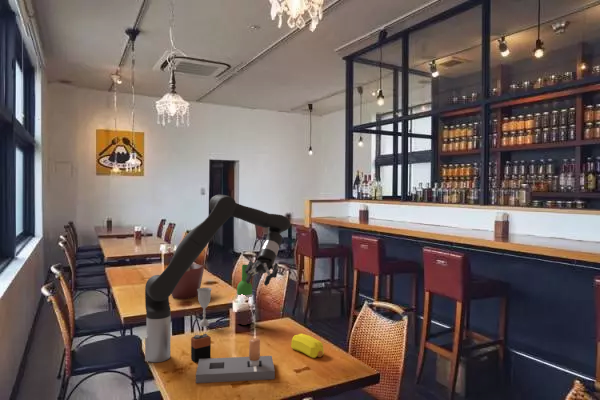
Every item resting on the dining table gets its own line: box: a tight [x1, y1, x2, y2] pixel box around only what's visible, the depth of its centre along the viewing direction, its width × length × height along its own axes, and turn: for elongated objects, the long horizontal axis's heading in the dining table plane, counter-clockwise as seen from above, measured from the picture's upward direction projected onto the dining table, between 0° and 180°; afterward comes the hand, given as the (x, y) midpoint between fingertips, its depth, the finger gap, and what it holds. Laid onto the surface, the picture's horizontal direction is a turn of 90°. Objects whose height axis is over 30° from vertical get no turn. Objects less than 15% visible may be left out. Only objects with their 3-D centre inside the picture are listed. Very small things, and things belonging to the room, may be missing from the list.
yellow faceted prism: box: [290, 332, 325, 359], centre depth 180 cm, size 18×7×8 cm
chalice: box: [197, 287, 213, 328], centre depth 213 cm, size 7×7×18 cm
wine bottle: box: [236, 264, 253, 298], centre depth 216 cm, size 8×8×30 cm
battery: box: [190, 333, 212, 363], centre depth 171 cm, size 4×7×10 cm, turn 126°
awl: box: [248, 337, 261, 367], centre depth 160 cm, size 4×4×12 cm
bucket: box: [171, 263, 205, 300], centre depth 269 cm, size 24×22×25 cm
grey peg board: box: [195, 355, 276, 384], centre depth 159 cm, size 28×14×3 cm, turn 98°
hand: (256, 283), depth 180 cm, fingers open, 8 cm apart
